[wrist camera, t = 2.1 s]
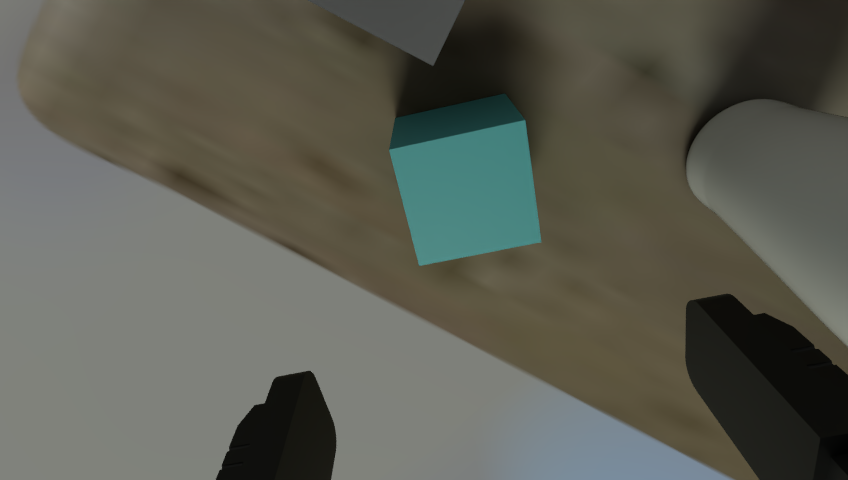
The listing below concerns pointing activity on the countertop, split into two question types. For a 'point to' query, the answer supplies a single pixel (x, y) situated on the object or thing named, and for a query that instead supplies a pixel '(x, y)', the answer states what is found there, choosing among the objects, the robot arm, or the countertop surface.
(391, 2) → the charcoal block
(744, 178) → the drinking glass
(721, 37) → the countertop surface
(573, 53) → the countertop surface
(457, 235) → the teal block
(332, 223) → the countertop surface
